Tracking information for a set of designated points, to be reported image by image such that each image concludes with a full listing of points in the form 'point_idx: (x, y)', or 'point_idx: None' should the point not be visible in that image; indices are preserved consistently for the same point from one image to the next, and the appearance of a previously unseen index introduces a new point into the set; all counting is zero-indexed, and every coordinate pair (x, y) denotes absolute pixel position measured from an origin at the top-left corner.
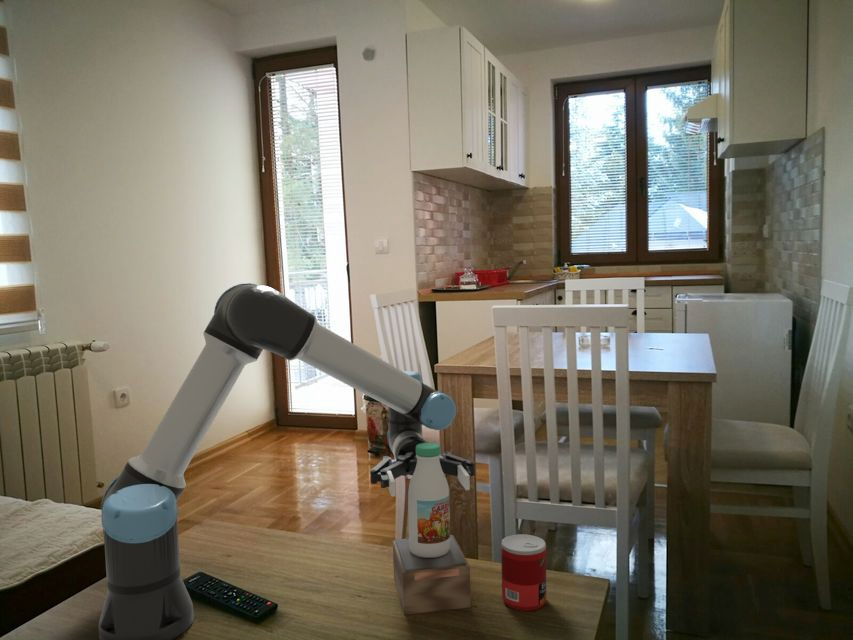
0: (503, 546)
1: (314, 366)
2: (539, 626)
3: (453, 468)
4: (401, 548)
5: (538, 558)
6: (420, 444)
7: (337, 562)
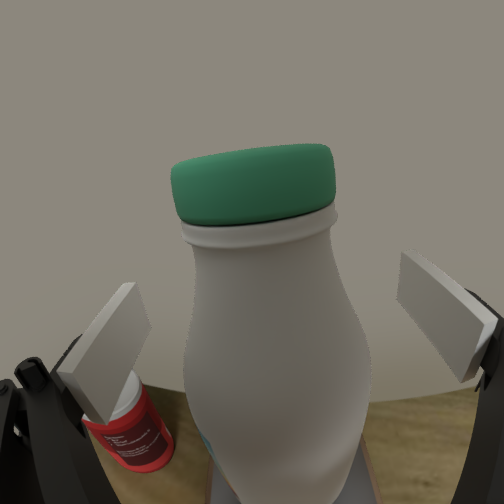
0: (139, 388)
1: None
2: (160, 397)
3: (78, 440)
4: (365, 489)
5: None
6: (299, 144)
7: None
